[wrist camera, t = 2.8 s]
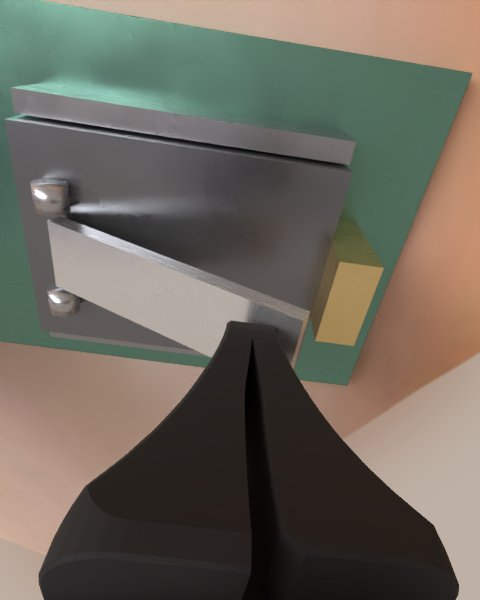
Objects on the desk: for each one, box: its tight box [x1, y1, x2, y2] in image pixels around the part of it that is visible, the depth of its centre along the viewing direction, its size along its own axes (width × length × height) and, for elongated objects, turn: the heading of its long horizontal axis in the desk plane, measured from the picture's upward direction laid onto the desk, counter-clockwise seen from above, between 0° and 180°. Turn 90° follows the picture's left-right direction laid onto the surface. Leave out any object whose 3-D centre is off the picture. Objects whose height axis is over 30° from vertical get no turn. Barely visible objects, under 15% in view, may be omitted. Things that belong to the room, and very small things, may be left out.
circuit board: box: [0, 0, 472, 386], centre depth 16 cm, size 20×16×5 cm
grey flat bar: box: [47, 216, 310, 369], centre depth 13 cm, size 10×3×1 cm, turn 82°
